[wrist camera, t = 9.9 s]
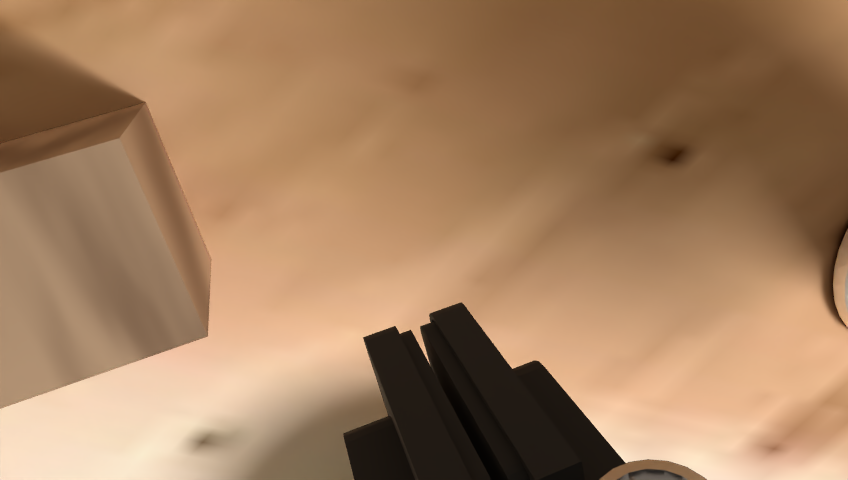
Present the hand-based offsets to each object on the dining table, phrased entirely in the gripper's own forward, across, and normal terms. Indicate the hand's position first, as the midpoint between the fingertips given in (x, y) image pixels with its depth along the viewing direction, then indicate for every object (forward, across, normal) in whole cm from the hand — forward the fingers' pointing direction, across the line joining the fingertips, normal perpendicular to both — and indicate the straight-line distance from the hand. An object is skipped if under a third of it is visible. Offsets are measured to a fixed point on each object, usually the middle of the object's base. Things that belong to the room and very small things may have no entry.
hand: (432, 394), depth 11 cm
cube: (+15, +5, 0) cm, 16 cm away
